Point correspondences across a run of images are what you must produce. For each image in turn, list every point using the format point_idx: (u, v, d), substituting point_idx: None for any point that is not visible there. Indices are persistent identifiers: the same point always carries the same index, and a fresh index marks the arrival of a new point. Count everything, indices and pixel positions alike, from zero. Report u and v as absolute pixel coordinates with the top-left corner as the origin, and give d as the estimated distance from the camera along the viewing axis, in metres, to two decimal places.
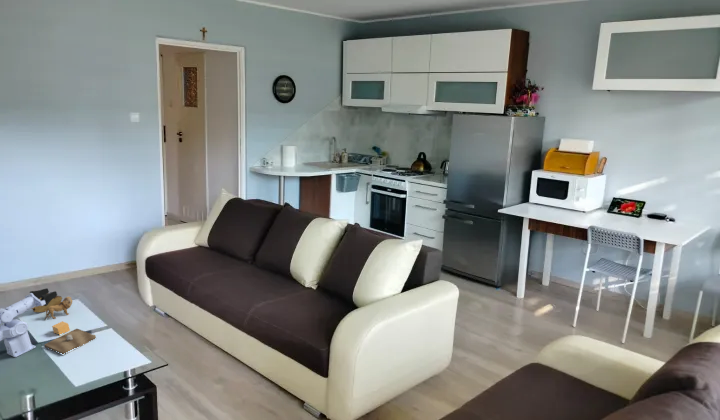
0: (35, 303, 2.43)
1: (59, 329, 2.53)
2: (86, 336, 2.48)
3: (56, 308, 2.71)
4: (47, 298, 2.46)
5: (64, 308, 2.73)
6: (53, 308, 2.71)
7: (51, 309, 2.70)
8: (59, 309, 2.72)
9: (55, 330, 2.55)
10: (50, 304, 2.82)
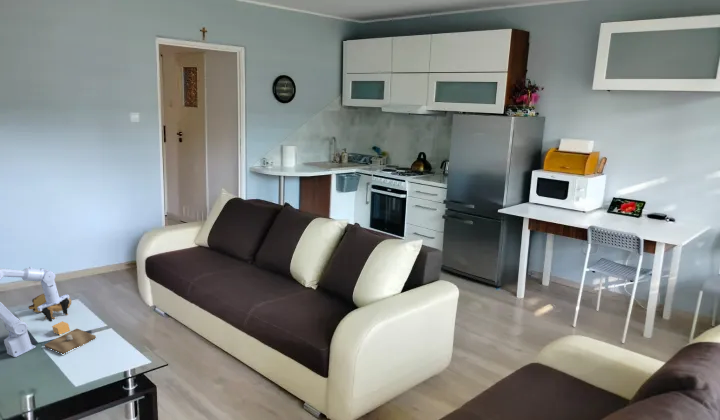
0: (46, 302, 2.50)
1: (59, 329, 2.53)
2: (86, 336, 2.48)
3: (55, 308, 2.71)
4: None
5: None
6: (52, 308, 2.71)
7: (50, 309, 2.70)
8: (58, 309, 2.72)
9: (55, 330, 2.55)
10: None
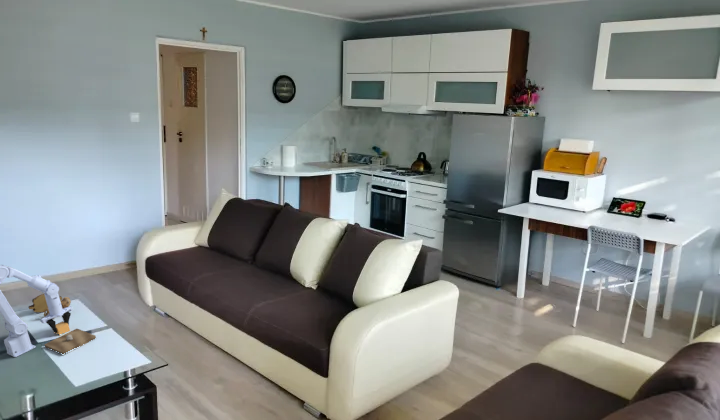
0: (50, 314, 2.52)
1: (59, 329, 2.53)
2: (86, 336, 2.48)
3: None
4: None
5: (62, 308, 2.73)
6: None
7: None
8: None
9: None
10: None
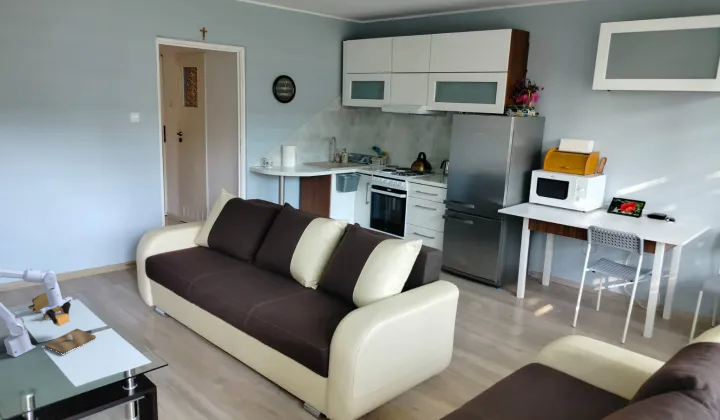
0: (49, 304, 2.45)
1: (59, 320, 2.47)
2: (86, 336, 2.48)
3: (53, 309, 2.71)
4: (51, 314, 2.46)
5: (61, 309, 2.73)
6: None
7: None
8: (56, 310, 2.72)
9: None
10: None
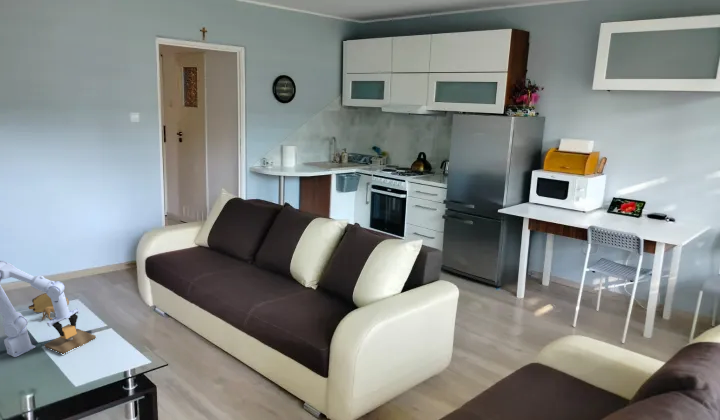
0: (56, 317, 2.40)
1: (66, 332, 2.41)
2: (86, 336, 2.48)
3: (53, 309, 2.71)
4: None
5: None
6: (50, 309, 2.70)
7: (48, 310, 2.70)
8: None
9: None
10: (50, 304, 2.82)
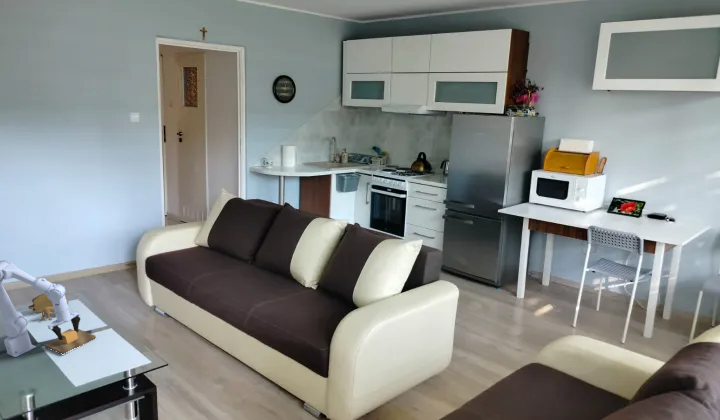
0: (57, 320, 2.40)
1: (67, 337, 2.42)
2: (86, 336, 2.48)
3: (52, 309, 2.71)
4: None
5: None
6: (49, 309, 2.70)
7: (47, 310, 2.69)
8: None
9: (63, 338, 2.43)
10: (50, 304, 2.82)
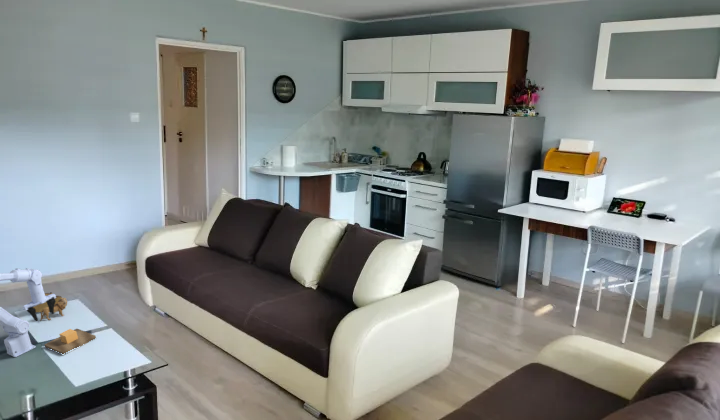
0: (32, 301, 2.49)
1: (67, 337, 2.42)
2: (86, 336, 2.48)
3: None
4: None
5: (59, 309, 2.72)
6: (48, 309, 2.70)
7: (46, 310, 2.69)
8: (54, 310, 2.71)
9: (63, 338, 2.43)
10: None
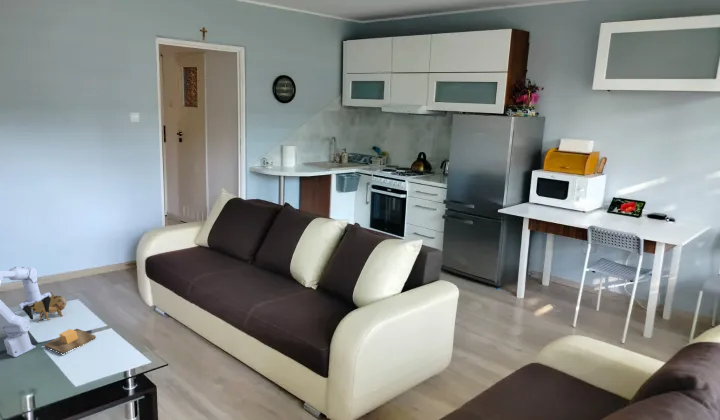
0: (28, 299, 2.51)
1: (67, 337, 2.42)
2: (86, 336, 2.48)
3: (50, 310, 2.70)
4: None
5: (58, 309, 2.72)
6: None
7: (45, 311, 2.69)
8: (53, 310, 2.71)
9: (63, 338, 2.43)
10: (50, 304, 2.82)
